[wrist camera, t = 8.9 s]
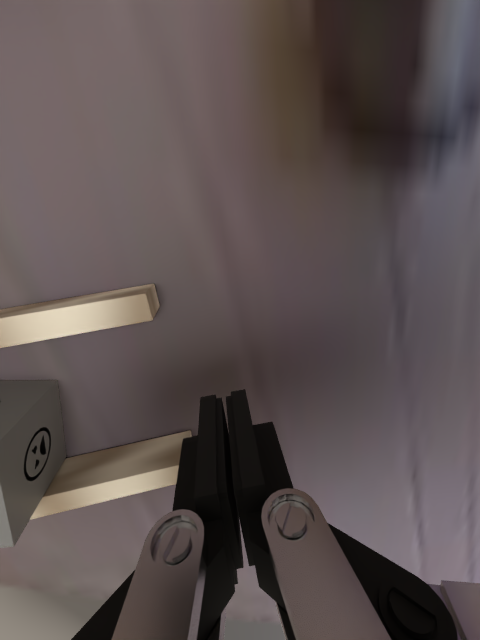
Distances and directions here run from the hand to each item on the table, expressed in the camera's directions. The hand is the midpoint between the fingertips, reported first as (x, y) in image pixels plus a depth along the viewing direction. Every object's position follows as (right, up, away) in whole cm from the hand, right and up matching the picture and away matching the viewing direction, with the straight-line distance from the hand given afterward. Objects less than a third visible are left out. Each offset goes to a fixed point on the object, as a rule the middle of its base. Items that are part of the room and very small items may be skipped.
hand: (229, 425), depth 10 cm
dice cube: (-12, -1, +5) cm, 13 cm away
